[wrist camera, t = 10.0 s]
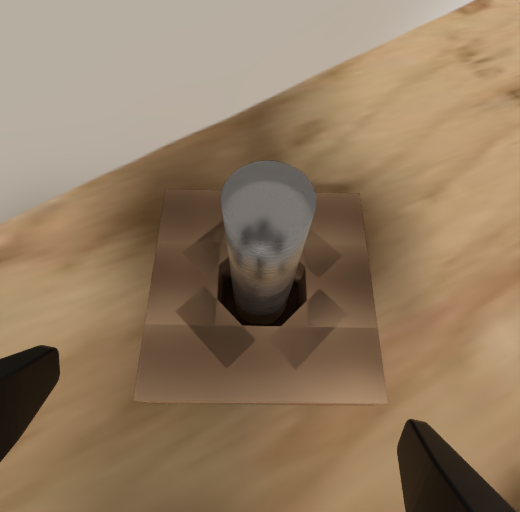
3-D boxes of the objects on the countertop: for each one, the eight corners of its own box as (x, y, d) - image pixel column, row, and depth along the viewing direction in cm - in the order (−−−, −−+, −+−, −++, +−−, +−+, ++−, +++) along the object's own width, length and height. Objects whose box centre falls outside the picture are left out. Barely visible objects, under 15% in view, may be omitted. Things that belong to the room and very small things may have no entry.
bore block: (368, 405, 19) (387, 403, 16) (149, 402, 19) (133, 400, 16) (347, 218, 24) (359, 193, 21) (175, 214, 24) (165, 189, 21)
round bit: (294, 313, 21) (333, 221, 11) (246, 333, 21) (241, 254, 11) (274, 268, 22) (292, 150, 13) (227, 286, 22) (207, 176, 12)
